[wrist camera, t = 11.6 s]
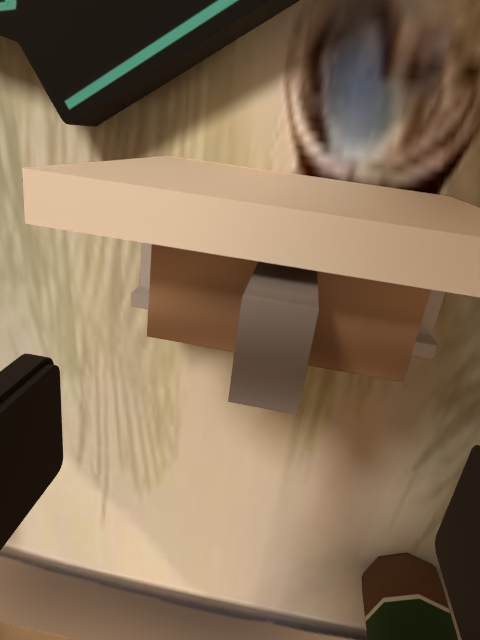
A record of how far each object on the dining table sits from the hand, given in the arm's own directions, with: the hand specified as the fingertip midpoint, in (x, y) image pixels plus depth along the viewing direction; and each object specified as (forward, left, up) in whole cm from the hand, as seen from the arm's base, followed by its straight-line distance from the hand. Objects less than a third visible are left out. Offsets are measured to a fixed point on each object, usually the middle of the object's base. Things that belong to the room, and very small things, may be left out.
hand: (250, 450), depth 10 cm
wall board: (0, 0, -25) cm, 25 cm away
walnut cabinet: (0, 0, -20) cm, 20 cm away
